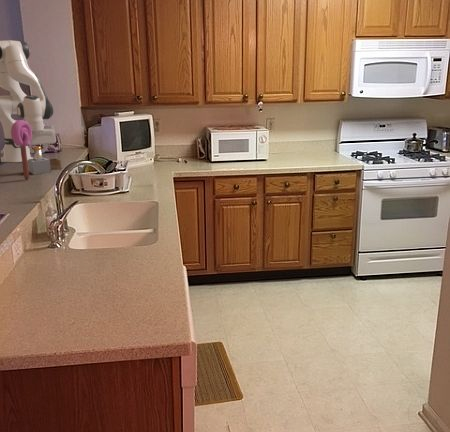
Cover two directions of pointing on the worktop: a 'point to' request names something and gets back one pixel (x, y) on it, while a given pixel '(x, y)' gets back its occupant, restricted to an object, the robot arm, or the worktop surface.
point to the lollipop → (22, 141)
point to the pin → (38, 153)
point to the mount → (55, 164)
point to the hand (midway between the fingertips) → (37, 153)
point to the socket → (39, 166)
